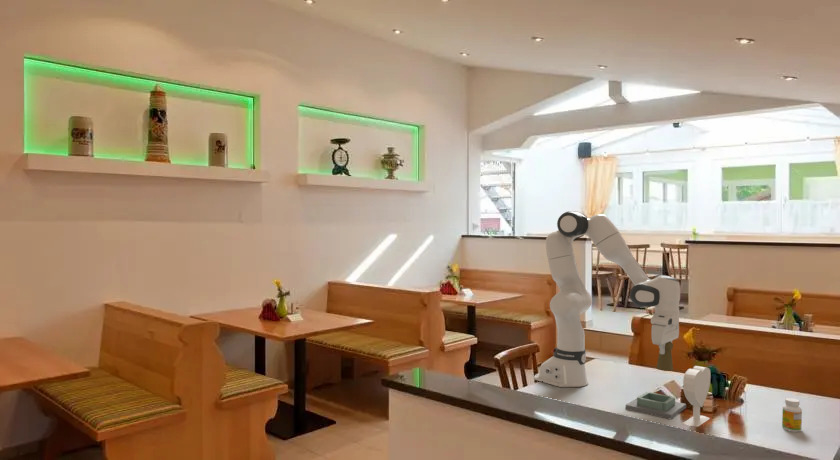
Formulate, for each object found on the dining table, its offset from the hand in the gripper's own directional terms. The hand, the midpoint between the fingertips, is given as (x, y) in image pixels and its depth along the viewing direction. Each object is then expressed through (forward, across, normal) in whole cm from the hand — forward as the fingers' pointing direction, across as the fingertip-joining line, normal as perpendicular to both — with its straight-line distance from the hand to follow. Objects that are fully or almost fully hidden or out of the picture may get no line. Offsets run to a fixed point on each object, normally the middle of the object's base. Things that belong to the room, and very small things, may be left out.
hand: (665, 352), depth 233 cm
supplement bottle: (+16, +10, +45) cm, 49 cm away
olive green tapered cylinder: (+7, 0, 0) cm, 7 cm away
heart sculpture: (+16, +22, +19) cm, 34 cm away
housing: (+17, +19, +4) cm, 25 cm away
